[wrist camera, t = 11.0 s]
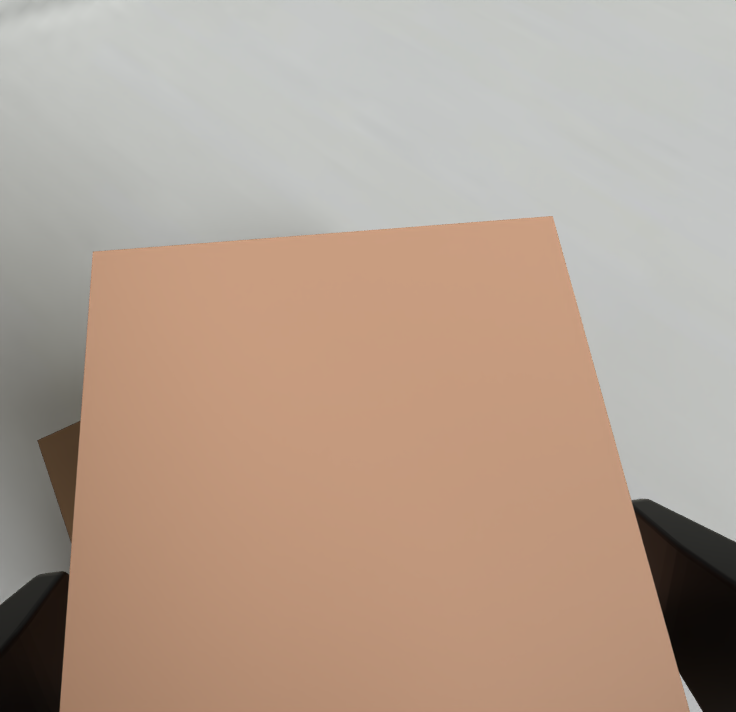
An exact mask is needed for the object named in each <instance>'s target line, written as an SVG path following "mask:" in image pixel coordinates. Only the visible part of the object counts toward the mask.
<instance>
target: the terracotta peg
mask: <svg viewBox="0 0 736 712" xmlns="http://www.w3.org/2000/svg"><path fill="white" fill-rule="evenodd" d="M60 712H690V711H689V707H688V704H687V700H686V696H685V693H684V689H683V686H682V682H681V678H680V675H679V671H678V667H677V664H676V660H675V657H674V653H673V649H672V646H671V642H670V639H669V635H668V631H667V628H666V624H665V621H664V617H663V613H662V610H661V606H660V602H659V599H658V595H657V592H656V588H655V584H654V581H653V577H652V574H651V570H650V566H649V563H648V559H647V556H646V552H645V548H644V545H643V541H642V537H641V534H640V530H639V527H638V523H637V519H636V516H635V512H634V509H633V505H632V501H631V498H630V494H629V491H628V487H627V483H626V480H625V476H624V472H623V469H622V465H621V462H620V458H619V454H618V451H617V447H616V444H615V440H614V436H613V433H612V429H611V425H610V422H609V418H608V415H607V411H606V407H605V404H604V400H603V397H602V393H601V389H600V386H599V382H598V379H597V375H596V371H595V368H594V364H593V360H592V357H591V353H590V350H589V346H588V342H587V339H586V335H585V332H584V328H583V324H582V321H581V317H580V314H579V310H578V306H577V303H576V299H575V295H574V292H573V288H572V285H571V281H570V277H569V274H568V270H567V267H566V263H565V259H564V256H563V252H562V249H561V245H560V241H559V238H558V234H557V230H556V227H555V223H554V220H553V216H548V217H535V218H522V219H510V220H497V221H484V222H471V223H458V224H445V225H432V226H419V227H406V228H393V229H380V230H368V231H355V232H342V233H329V234H316V235H303V236H290V237H277V238H264V239H251V240H238V241H225V242H213V243H200V244H187V245H174V246H161V247H148V248H135V249H122V250H109V251H96V252H93V258H92V271H91V285H90V299H89V313H88V326H87V340H86V354H85V368H84V381H83V395H82V409H81V423H80V437H79V450H78V464H77V478H76V492H75V505H74V519H73V533H72V547H71V560H70V574H69V588H68V602H67V616H66V629H65V643H64V657H63V671H62V684H61V698H60Z"/></svg>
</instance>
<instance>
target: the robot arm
mask: <svg viewBox="0 0 736 712" xmlns="http://www.w3.org/2000/svg"><path fill="white" fill-rule="evenodd" d="M631 501H632V505H633V509H634V512H635V516H636V519H637V523H638V527H639V530H640V534H641V537H642V541H643V545H644V548H645V552H646V556H647V559H648V563H649V566H650V570H651V574H652V577H653V581H654V584H655V588H656V592H657V595H658V599H659V602H660V606H661V610H662V613H663V617H664V621H665V624H666V628H667V631H668V635H669V639H670V642H671V646H672V649H673V653H674V657H675V660H676V664H677V667H678V671H679V673H680V675H681V676H682V678H683V680H684V681H685V683H686V685H687V686H688V688H689V690H690V691H691V693H692V695H693V696H694V698H695V699H696V701H697V703H698V704H699V706H700V708H701V709H702V711H703V712H736V542H734V541H732V540H730V539H728V538H726V537H724V536H722V535H720V534H718V533H716V532H714V531H712V530H710V529H708V528H706V527H704V526H702V525H700V524H698V523H696V522H694V521H692V520H690V519H688V518H686V517H684V516H682V515H680V514H678V513H676V512H674V511H672V510H670V509H668V508H666V507H664V506H662V505H660V504H658V503H655V502H653V501H651V500H649V499H637V500H631ZM68 588H69V574H68V573H66V572H62V571H61V572H53V573H45V574H40V575H38V576H36V577H34V578H33V579H32V580H30V581H29V582H28V583H27V584H26V585H24V586H23V587H22V588H21V589H19V590H18V591H17V592H16V593H14V594H13V595H12V596H11V597H9V598H8V599H7V600H6V601H5V602H3V603H2V604H1V605H0V712H60V698H61V684H62V671H63V657H64V643H65V629H66V616H67V602H68Z"/></svg>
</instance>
